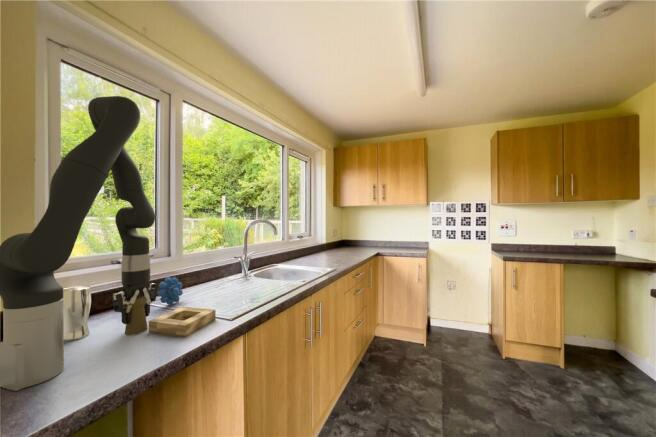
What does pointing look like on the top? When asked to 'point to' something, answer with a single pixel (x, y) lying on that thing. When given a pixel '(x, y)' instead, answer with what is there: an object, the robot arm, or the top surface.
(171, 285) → the blue lobed wheel
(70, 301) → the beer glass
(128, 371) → the top surface
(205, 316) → the holder block
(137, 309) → the cork
